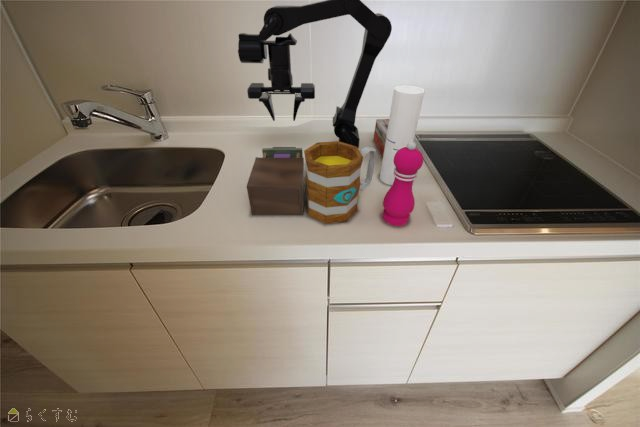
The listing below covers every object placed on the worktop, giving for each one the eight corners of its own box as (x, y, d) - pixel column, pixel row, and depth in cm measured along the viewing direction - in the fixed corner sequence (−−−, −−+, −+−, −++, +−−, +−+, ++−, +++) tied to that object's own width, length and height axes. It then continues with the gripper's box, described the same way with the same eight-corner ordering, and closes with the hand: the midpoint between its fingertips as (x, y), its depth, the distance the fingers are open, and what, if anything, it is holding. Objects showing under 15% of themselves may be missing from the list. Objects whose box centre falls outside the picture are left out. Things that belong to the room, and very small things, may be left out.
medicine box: (372, 139, 104) (375, 118, 99) (394, 139, 105) (398, 117, 100) (384, 160, 93) (387, 136, 88) (408, 159, 93) (413, 135, 88)
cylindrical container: (389, 169, 88) (404, 83, 73) (409, 178, 84) (430, 89, 69) (374, 178, 84) (388, 89, 69) (395, 188, 80) (414, 96, 65)
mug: (322, 231, 66) (323, 175, 57) (295, 201, 75) (292, 149, 66) (386, 204, 74) (396, 152, 65) (354, 180, 83) (359, 131, 74)
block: (291, 167, 85) (290, 153, 82) (290, 176, 81) (289, 161, 78) (275, 167, 85) (274, 153, 82) (274, 176, 81) (272, 161, 78)
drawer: (267, 160, 90) (264, 140, 86) (303, 160, 90) (302, 140, 86) (259, 192, 77) (255, 170, 73) (301, 192, 77) (300, 170, 73)
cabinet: (260, 184, 81) (255, 157, 76) (304, 184, 81) (303, 157, 76) (251, 215, 71) (246, 186, 65) (302, 215, 71) (301, 185, 66)
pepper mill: (377, 209, 73) (389, 134, 60) (404, 208, 73) (423, 133, 61) (384, 228, 67) (400, 150, 55) (414, 226, 68) (436, 149, 55)
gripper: (314, 57, 84) (314, 111, 94) (250, 57, 83) (257, 110, 93) (314, 66, 75) (314, 124, 85) (243, 66, 75) (251, 124, 85)
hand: (284, 120), depth 87 cm, fingers open, 6 cm apart
